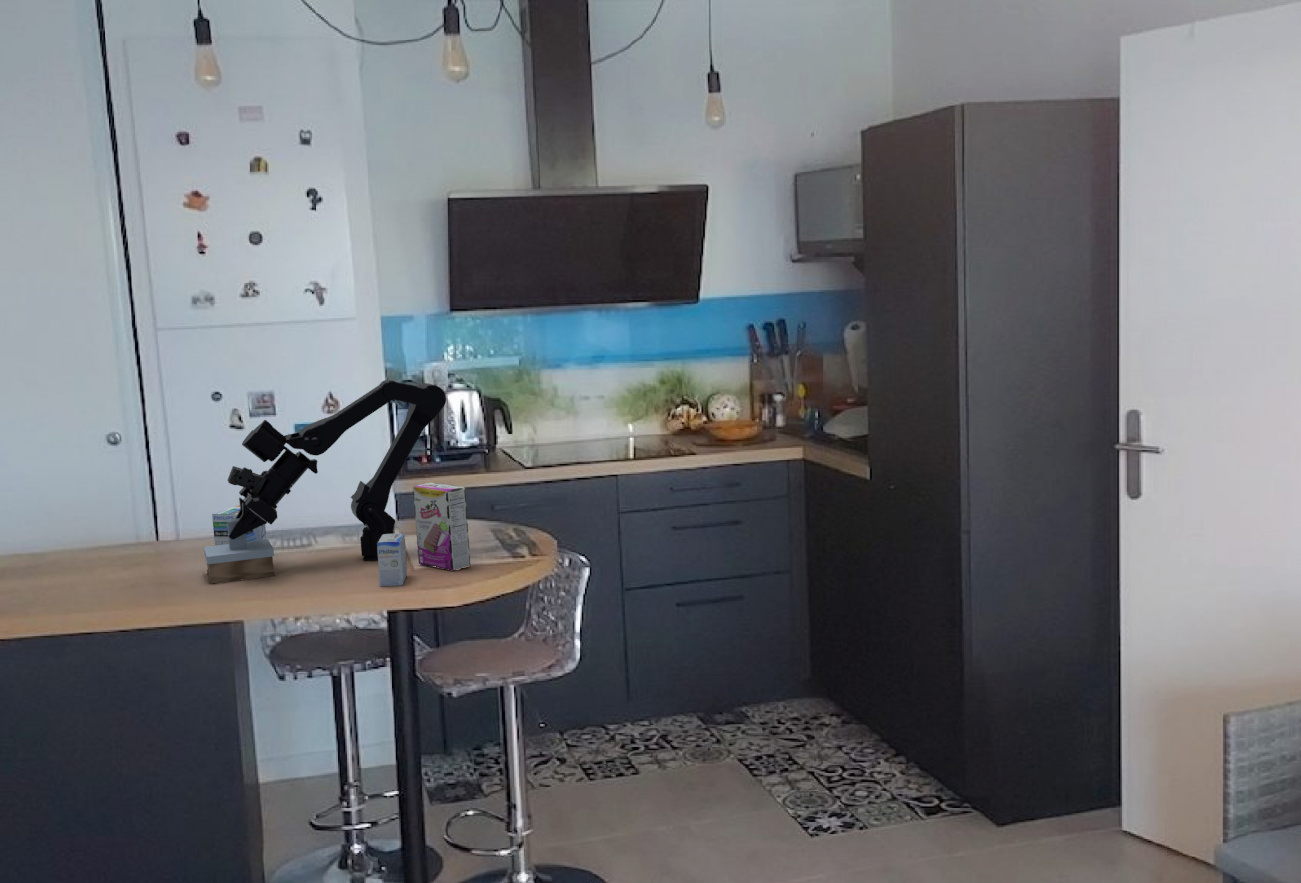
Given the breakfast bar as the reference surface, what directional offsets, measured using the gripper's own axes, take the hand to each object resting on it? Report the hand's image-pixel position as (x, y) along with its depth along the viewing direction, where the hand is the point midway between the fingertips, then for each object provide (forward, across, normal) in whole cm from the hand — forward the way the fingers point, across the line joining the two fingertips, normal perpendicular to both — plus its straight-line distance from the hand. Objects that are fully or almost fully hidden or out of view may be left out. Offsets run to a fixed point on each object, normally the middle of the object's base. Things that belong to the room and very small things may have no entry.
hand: (229, 536), depth 258 cm
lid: (+2, 0, +4) cm, 4 cm away
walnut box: (+5, 0, +7) cm, 8 cm away
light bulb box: (+4, -16, +8) cm, 18 cm away
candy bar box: (-22, +16, +34) cm, 43 cm away
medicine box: (-14, +24, +26) cm, 37 cm away
